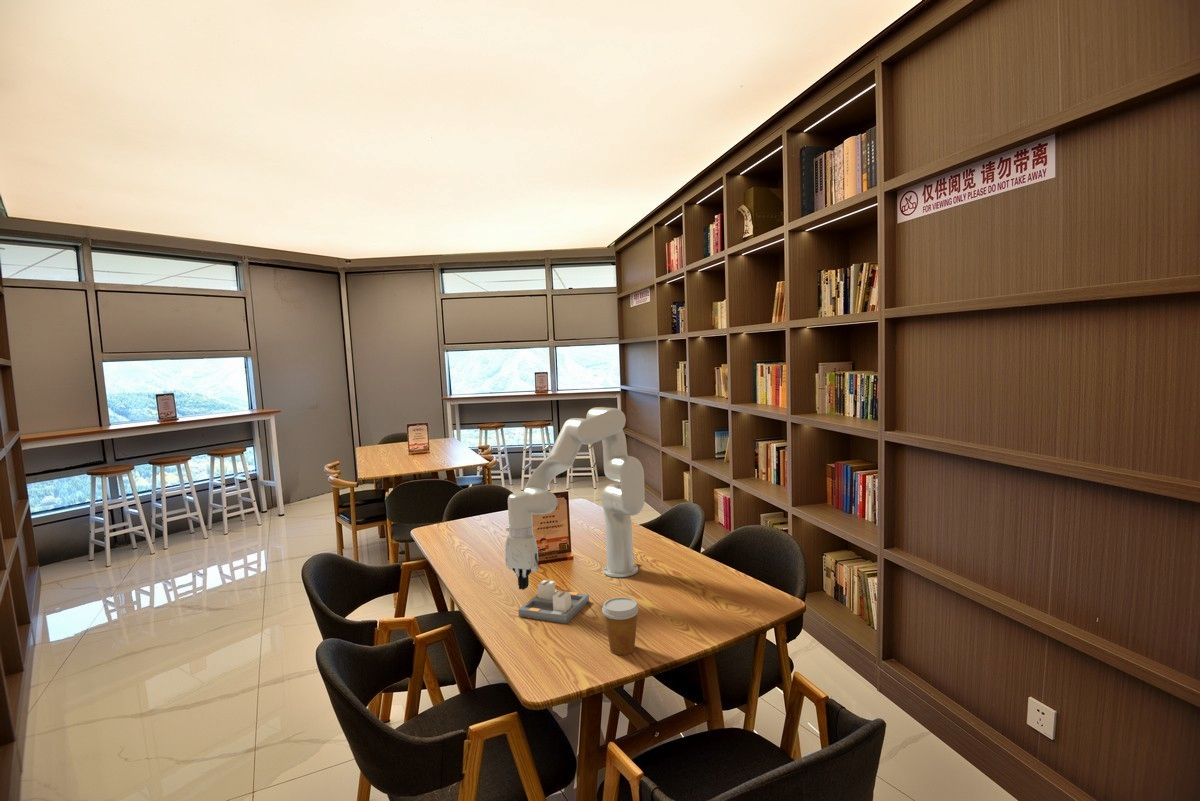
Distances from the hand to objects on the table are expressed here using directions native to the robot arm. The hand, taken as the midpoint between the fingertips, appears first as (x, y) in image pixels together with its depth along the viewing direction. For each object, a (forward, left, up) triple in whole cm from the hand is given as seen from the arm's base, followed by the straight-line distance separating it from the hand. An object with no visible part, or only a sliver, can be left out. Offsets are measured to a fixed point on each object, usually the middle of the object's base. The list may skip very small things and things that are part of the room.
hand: (523, 587), depth 177 cm
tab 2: (0, +8, -3) cm, 9 cm away
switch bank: (+3, +13, -4) cm, 14 cm away
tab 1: (+7, +17, -3) cm, 19 cm away
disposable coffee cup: (+20, +41, -4) cm, 46 cm away
